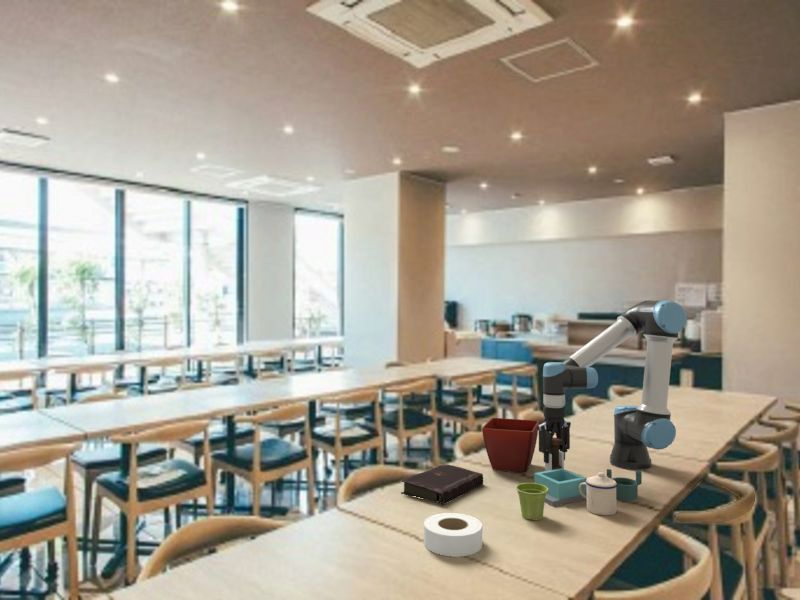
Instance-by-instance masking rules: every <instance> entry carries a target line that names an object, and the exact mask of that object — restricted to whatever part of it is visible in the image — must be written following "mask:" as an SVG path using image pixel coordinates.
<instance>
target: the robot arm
mask: <svg viewBox="0 0 800 600" xmlns="http://www.w3.org/2000/svg"><path fill="white" fill-rule="evenodd" d="M687 318H688V317H687V313H686V310H685V309H684V308H683V307H682V305H680V304H679V303H678V302H675V301H672V300H667V299H666V300H664V299H663V300H644V301H643V300H642V301H641V302H638V303H636V304H634V305H633V306H632V307H630V308H628V309H626V310H625V311H624V312H623V313H621V314H620V315H619V316H618V317H617V318H616V321H615V322H614V323H613V324H611V325H609V327H607V328H606V329H605V330H603V331H602V332H601V333H599V334H598V335H596V336H595V337H594V338H593V339H592V340H590V341H588V342H587V343H586V344H585V345H583V346H582V347H581V348H579V349H578V350H577V351H575V352H574V353H573V354H572V355H570V356H569V357H567V358H566V359H565V360H563V361H559V362H557V361H556V362H554V361H550V362H546V363H544V365H543V370H542V377H543V378H542V383H543V394H542V395H543V396H542V397H543V399H542V400H543V401H542V402H543V405H544V406H543V407H542V408H543V409H542V410H543V417H544V419H543V420H544V421H543V423H541V424H540V423H539V424H538V426H537V427H538V452H539V453H542V454H543V463H544V471H549V470H552V454H550V450H551V444H552V439H553V438H554V436H556V437H555V438H559V439H562V441H563V444H562V445H559V465H560V466H561V467H562V468H563V469H565V460H566V453H568V450H570V448H571V446H570V444H571V437H570V436H571V433H570V430H571V429H570V428H571V424H572V423H571V422H570V421H568V420H565V417H566V407H565V406H566V390H572V389H575V390H576V389H586V390H587V389H594V388H596V386H597V385H598V383H599V375H598V372H597V370H596V368H594V367H592V366H593V365H594V364H596V363H597V362H598V361H599V360H601V359H602V358H604V357H605V356H606V355H607V354H609V353H610V352H611V351H613V350H614V349H615V348H616V347H618V346H619V345H620V344H622V343H623V342H625V341H626V340H627V339H629V338H630V337H632V338H635V337H636V336H637V335H639V334H640V333H643V337H645V339H646V341H647V343H646V352H645V361H644V373H643V382H642V384H643V385H642V392H641V393H642V394H641V402H640V404H639V405H637V404H636V405H627V404H626V405H617V406H616V407H614V412H613V419H614V420H613V422H614V423H613V425H614V426H613V428H614V432H613V433H614V435H613V437H614V444H613V447H612V449H611V454H610V455H609V463H610V465H612V466H614V467H616V468H621V469H624V470H625V469H626V470H634V471H636V470H641V471H643V470H648V469H651V468H652V459H651V457H650V453H649V451H648V450H649V449H653V450H663V449H666V448H668V447H669V446H670V445H672V444H673V442H674V441H675V439H676V435H677V430H676V429H677V428H676V427H675V425H674V423H673V422H672V421H671V416H672V413H671V411H670V410H669V409H668V400H669V399H668V398H669V389H670V378H671V377H670V376H671V367H672V366H671V365H672V356H673V347H674V345H673V344H674V343H675V342H676V341H677V340H678V339H679V333H680V332H681V331H683V329H685V327H686V324H687V322H688V319H687ZM648 448H649V449H648Z"/></svg>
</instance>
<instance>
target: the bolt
mask: <svg viewBox="0 0 800 600" xmlns="http://www.w3.org/2000/svg"><path fill="white" fill-rule="evenodd" d="M562 444H563V441H562V439H559V438H556V437H553V439H552V444H551V450H550V454H552V470H555V469H560V468H562V467H561V466H560V465H559V451H560V450H559V445H562Z"/></svg>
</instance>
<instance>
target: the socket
mask: <svg viewBox="0 0 800 600" xmlns="http://www.w3.org/2000/svg"><path fill="white" fill-rule="evenodd" d="M533 478H534V479H533V480H534V482H533V483H537V484H541V485H544V486H546V487H547V488H548V492H547V493H546V496H545V502H544V504H548V505H549V506H551V507H555V506H560V505H565V504H570V503H574V502H579V501H584V500H587V499H586V498H584V497H583V496H582V495H581V493H580V491H579V485H580V484H581V483H583V482H586V480H587V478H588V477H585V476H583V475H580V474H577V473H576V472H572V471H569V470H567V469H566V468H564V469H563V468H560V469H555V470H549V471H545V470H544V471H538V472H534V475H533ZM582 489H583V492H584V494H585V495H587V485H583V486H582Z"/></svg>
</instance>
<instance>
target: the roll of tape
mask: <svg viewBox="0 0 800 600" xmlns="http://www.w3.org/2000/svg"><path fill="white" fill-rule="evenodd" d="M423 545H424V547H425V548H426V549H427V550H428V551H430V552H431V551H432V553H433V552H434V553H433V554H436V555H439V554H440V555H439V556H443V555H444V556H443V557H449V556H451V557H453V558H456V557H458V558H460V557H461V556H462V557H466V556H467V557H468V556H472V555H474V553H475V554H476V552H477V553H478V552H479V551H480V550H481V549H482V548H483V523H482V522H481V521H480V520H479V519H478V518H476V517H474V516H471V515H468V514H464V513H457V512H455V513H454V512H443V513H437V514H432V515H430V516H428V517H427V518H425V520H424V521H423ZM451 557H450V558H451ZM462 557H461V558H462Z"/></svg>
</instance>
